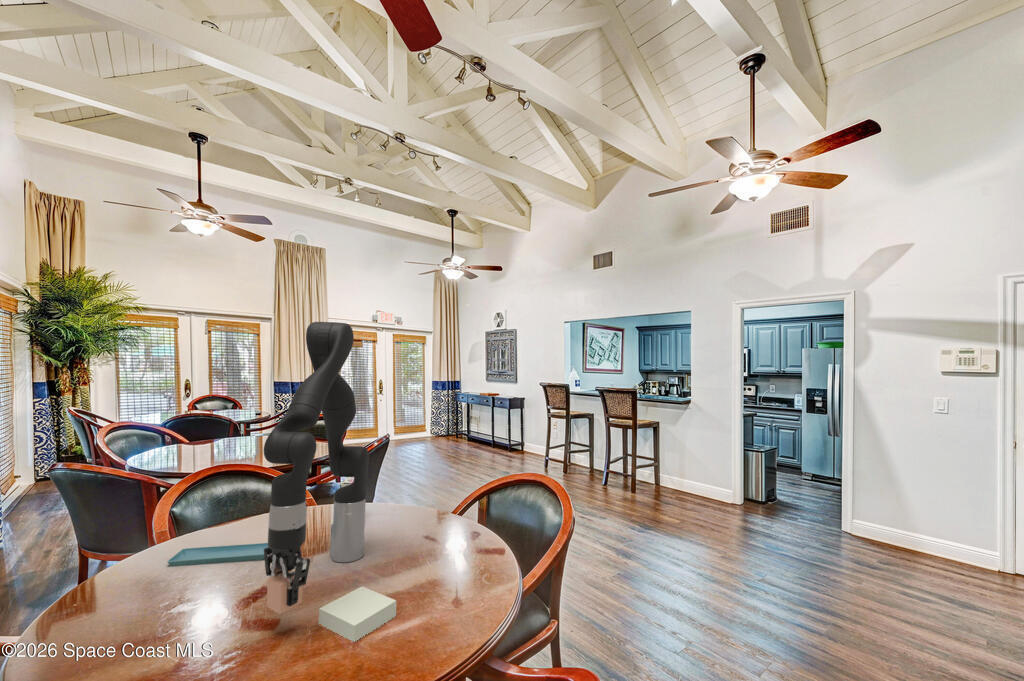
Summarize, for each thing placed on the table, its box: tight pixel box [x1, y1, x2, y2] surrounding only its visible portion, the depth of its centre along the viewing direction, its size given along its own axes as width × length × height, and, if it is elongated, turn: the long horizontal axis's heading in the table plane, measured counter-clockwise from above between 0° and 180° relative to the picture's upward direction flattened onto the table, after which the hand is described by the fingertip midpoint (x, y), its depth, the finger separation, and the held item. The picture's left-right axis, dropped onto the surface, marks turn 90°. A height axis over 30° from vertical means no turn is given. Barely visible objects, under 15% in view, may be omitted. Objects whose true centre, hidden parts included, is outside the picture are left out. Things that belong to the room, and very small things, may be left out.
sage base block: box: [318, 586, 397, 643], centre depth 102 cm, size 12×12×4 cm
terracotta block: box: [266, 570, 303, 615], centre depth 98 cm, size 5×5×6 cm
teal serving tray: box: [167, 542, 268, 567], centre depth 133 cm, size 26×9×2 cm, turn 102°
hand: (284, 600), depth 98 cm, fingers closed on terracotta block, 5 cm apart
